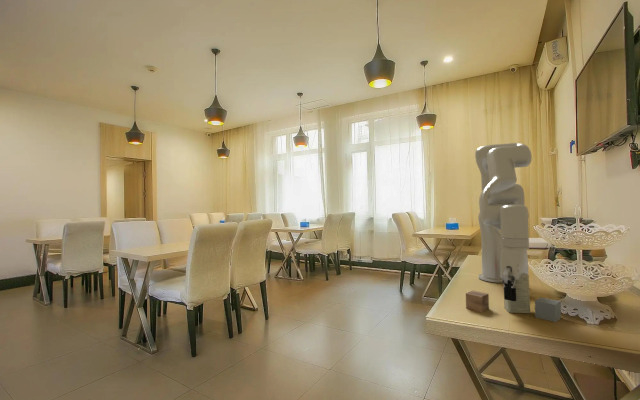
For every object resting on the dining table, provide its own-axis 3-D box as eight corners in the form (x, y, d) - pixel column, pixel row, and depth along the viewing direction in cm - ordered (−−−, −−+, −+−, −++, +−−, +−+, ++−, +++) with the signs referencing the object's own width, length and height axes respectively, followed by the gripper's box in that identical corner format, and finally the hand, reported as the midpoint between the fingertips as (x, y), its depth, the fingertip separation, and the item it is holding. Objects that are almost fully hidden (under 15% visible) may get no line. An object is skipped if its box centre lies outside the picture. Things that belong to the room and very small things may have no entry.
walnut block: (473, 305, 102) (473, 290, 102) (488, 309, 98) (488, 293, 98) (466, 308, 99) (465, 293, 99) (481, 312, 95) (481, 296, 95)
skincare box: (525, 309, 97) (524, 271, 97) (530, 314, 92) (529, 274, 93) (503, 307, 98) (502, 270, 99) (507, 312, 94) (506, 274, 94)
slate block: (541, 313, 93) (540, 297, 93) (560, 318, 89) (560, 301, 89) (535, 317, 90) (534, 300, 90) (555, 322, 86) (555, 305, 86)
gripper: (512, 240, 104) (514, 289, 104) (490, 244, 93) (491, 299, 93) (538, 242, 98) (539, 294, 98) (517, 247, 87) (519, 306, 87)
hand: (516, 297), depth 95 cm, fingers open, 9 cm apart
